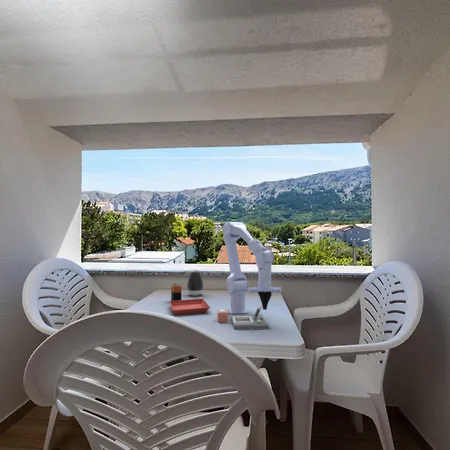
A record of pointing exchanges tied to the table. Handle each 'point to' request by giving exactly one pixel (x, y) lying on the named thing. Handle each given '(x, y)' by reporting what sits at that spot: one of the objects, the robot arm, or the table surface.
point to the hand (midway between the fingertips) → (264, 309)
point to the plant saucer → (189, 306)
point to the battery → (175, 292)
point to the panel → (248, 321)
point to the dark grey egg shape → (195, 283)
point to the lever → (257, 312)
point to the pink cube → (222, 316)
